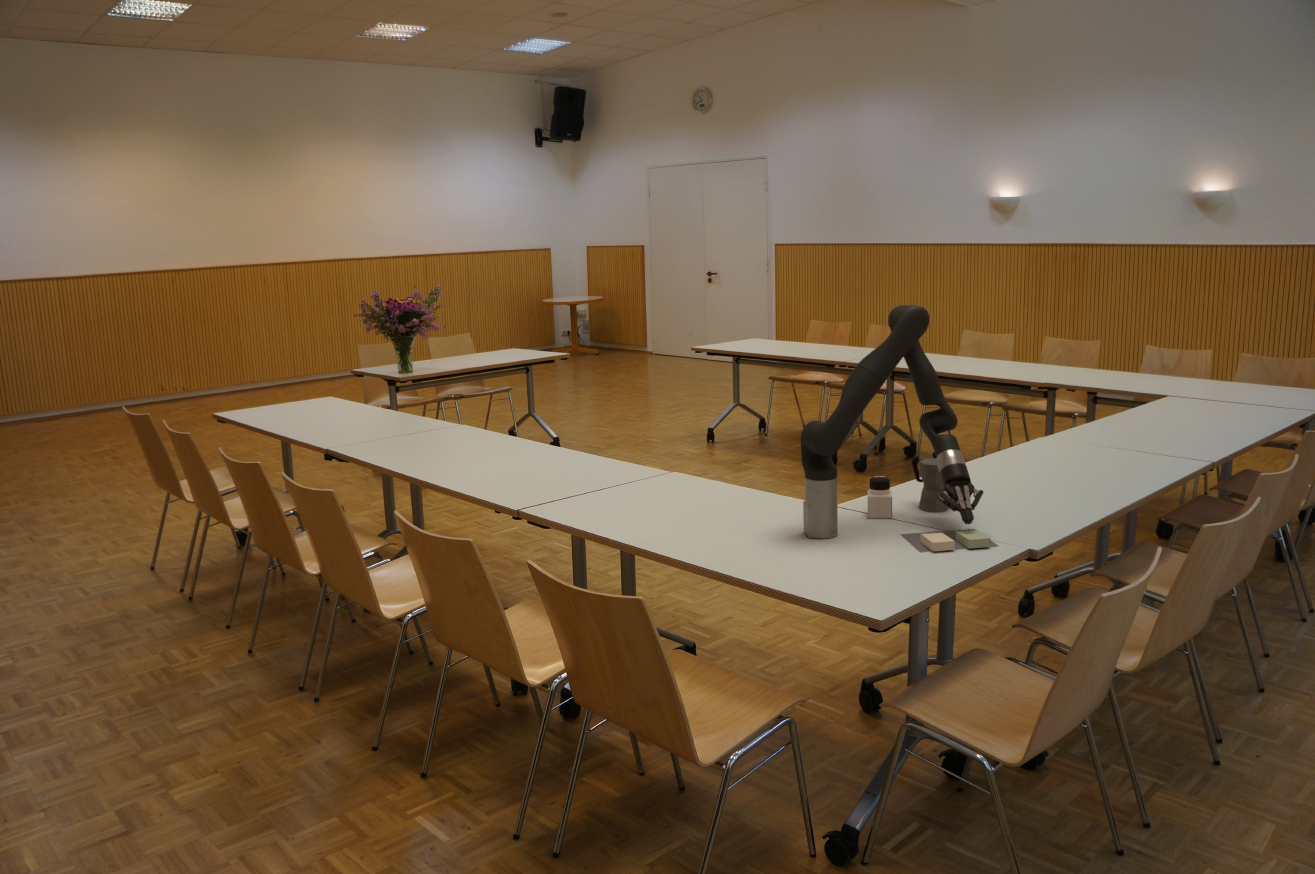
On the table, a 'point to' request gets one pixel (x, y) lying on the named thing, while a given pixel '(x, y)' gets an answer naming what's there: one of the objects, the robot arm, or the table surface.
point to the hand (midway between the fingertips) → (969, 522)
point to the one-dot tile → (973, 539)
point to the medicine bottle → (880, 498)
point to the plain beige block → (937, 542)
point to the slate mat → (916, 537)
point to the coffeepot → (929, 484)
